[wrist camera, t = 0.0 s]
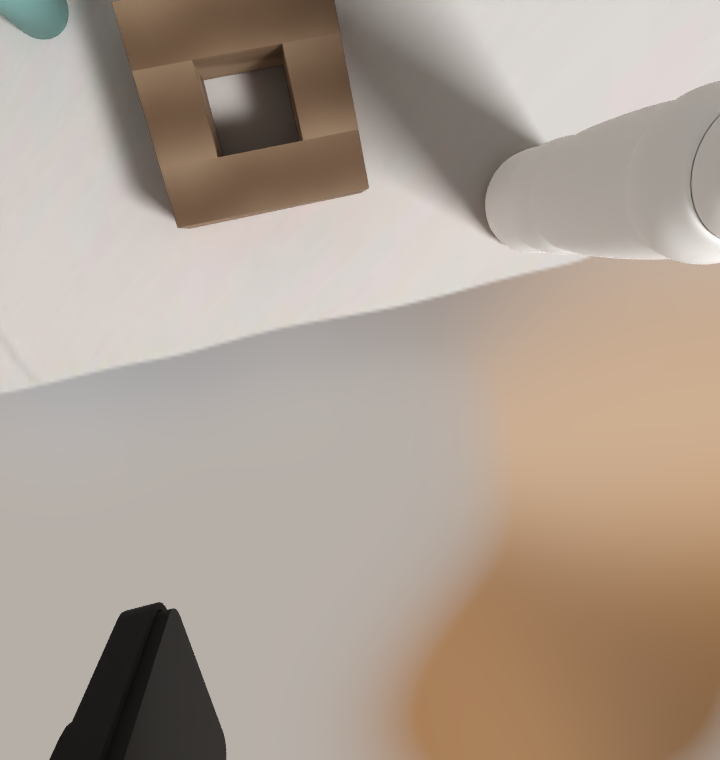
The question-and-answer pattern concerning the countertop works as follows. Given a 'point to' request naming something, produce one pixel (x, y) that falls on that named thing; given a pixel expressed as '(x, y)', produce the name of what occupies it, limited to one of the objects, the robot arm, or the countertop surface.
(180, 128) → the socket block
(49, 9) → the dowel
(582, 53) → the countertop surface
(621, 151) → the water bottle
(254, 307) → the countertop surface
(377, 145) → the countertop surface
